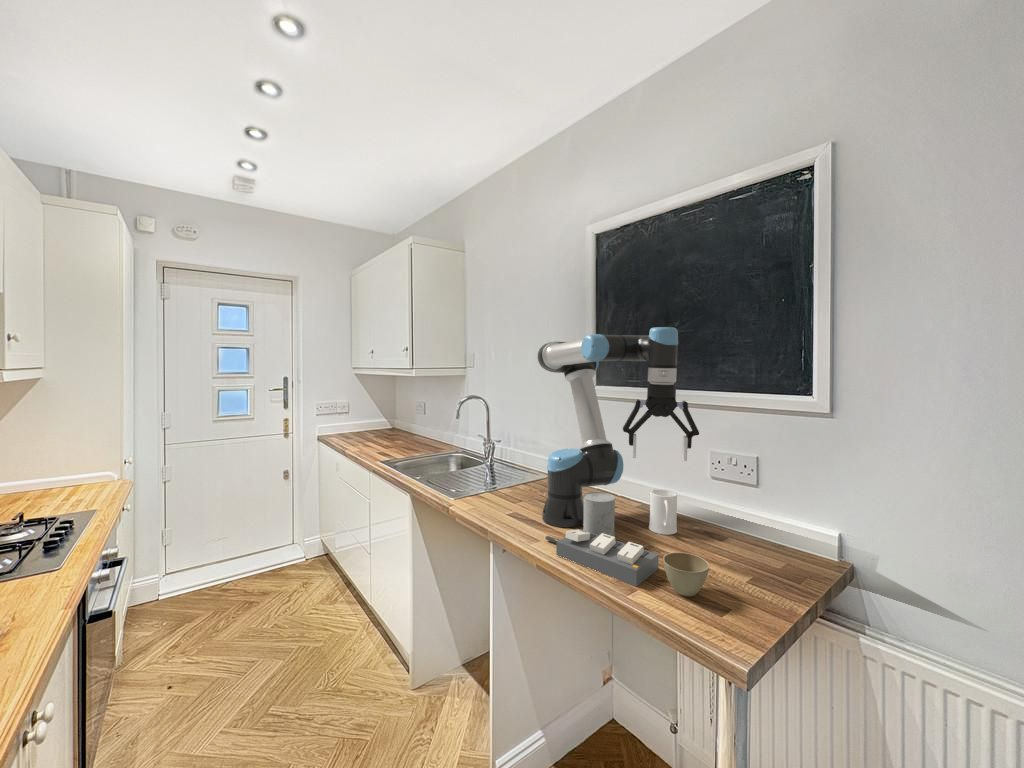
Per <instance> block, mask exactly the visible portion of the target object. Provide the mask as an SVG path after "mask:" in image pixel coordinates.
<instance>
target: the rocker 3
mask: <svg viewBox="0 0 1024 768" xmlns="http://www.w3.org/2000/svg"><path fill="white" fill-rule="evenodd" d="M625 544H626V545H625V546H624V547H623V548H622V549H621V550H620V551H619V552H618V553H617V557H618V560H620V561H623V562H625V563H628V564H631V565H633V564H634V563H635V561H636V560H637V559H638V558H639V557H640V556H641V555H642V554H643V553H644V550H645V549H644V546H643V545H641V544H637V543H634V542H631V541H628V542H627V543H625ZM643 549H644V550H643Z"/></svg>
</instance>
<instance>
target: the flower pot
mask: <svg viewBox="0 0 1024 768" xmlns="http://www.w3.org/2000/svg"><path fill="white" fill-rule="evenodd" d="M662 559H663V560H662V561H663V562H662V563H663V567H664V572H665V574H666V577H667V580H668V582H669V584H670V585H671V587H672V589H673V591H674V592H675V593H677V594H678V595H680V596H683V597H694V596H696V595H697V594H698V593H699V592H700V591H701V589H702V588H703V586H704V584H705V582H706V580H707V577H708V574H709V570H710V564H709V562H708V561H707V560H706V559H705V558H703V557H701V556H699V555H696V554H694V553H689V552H682V551H681V552H680V551H673V552H669V553H667V554H665V555H664V556H663V557H662Z"/></svg>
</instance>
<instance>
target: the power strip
mask: <svg viewBox="0 0 1024 768" xmlns="http://www.w3.org/2000/svg"><path fill="white" fill-rule="evenodd" d="M581 530H582V531H584V530H583V529H581ZM585 532H588V531H585ZM588 533H590V540H585V541H579V542H577V541H574V540H571V539H568V538H565V537H564V538H561V539H558V538H555V537H552V536H549V535H546V536H545V539H546V540H547V541H550V542H552V543H554V544H556V555H558V556H561V557H564V558H567V559H569V560H571V561H574V562H576V563H578V564H577V565H579V564H581V565H584V566H586V567H589V568H591V569H590V570H592V569H594V570H596V571H595V572H597V571H599V572H601V573H600V574H602V573H604V574H606V575H605V576H607V575H608V577H610V576H611V577H610V578H612V577H614V578H613V579H615V578H616V580H617V579H619V580H618V581H620V580H621V581H620V582H622V581H623V583H625V582H626V584H628V585H630V586H633V587H636V588H637V587H638V586H639V585H640V584H642V583H643V582H644V581H646V580H647V579H648V578H649V577H651V576H652V575H653V574H655V573H656V572H657V571H659V557H660V555H659V553H656V552H652V551H649V550H647V549H644V548H643V550H644V553H643V554H642V555H641V556H640V557H639V558H638V559H637V560H636V561H635V563H634V564H633V565H631V564H628V563H625V562H623V561H620V560H618V557H617V553H618V552H619V551H620V550H621V549H622V548H623V547H624V546H625V545H626V544H627V543H624V542H622V541H618V540H616V539H615V541H616V543H615V544H614V545H613V546H612V547H611V548H610V549H609V550H608V551H607V552H606V553H605V554H604V555H603V554H600V553H597V552H594V551H591V548H590V544H591V543H592V542H593V541H594V540H595V539H596V538H597V537H598V536H599V535H597V534H594V533H591V532H588ZM556 555H555V556H556ZM558 556H557V557H558ZM561 557H560V558H561ZM571 561H570V562H571ZM574 562H573V563H574ZM576 563H575V564H576ZM581 565H580V566H581ZM584 566H583V567H584ZM586 567H585V568H586ZM589 568H588V569H589ZM594 570H593V571H594ZM599 572H598V573H599ZM604 574H603V575H604Z"/></svg>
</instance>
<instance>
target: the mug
mask: <svg viewBox="0 0 1024 768" xmlns="http://www.w3.org/2000/svg"><path fill="white" fill-rule="evenodd" d="M649 495H650V503H649V525H648V530H650V531H651V532H653V533H655V534H659V535H664V536H665V535H666V536H668V535H675V534H676V533H678V529H677V528H678V527H677V517H678V515H677V514H678V513H677V512H678V508H677V507H678V493H677V492H676V491H673V490H669V489H665V488H664V489H663V488H661V489H659V488H658V489H657V488H655V489H652V490H650V493H649Z"/></svg>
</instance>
